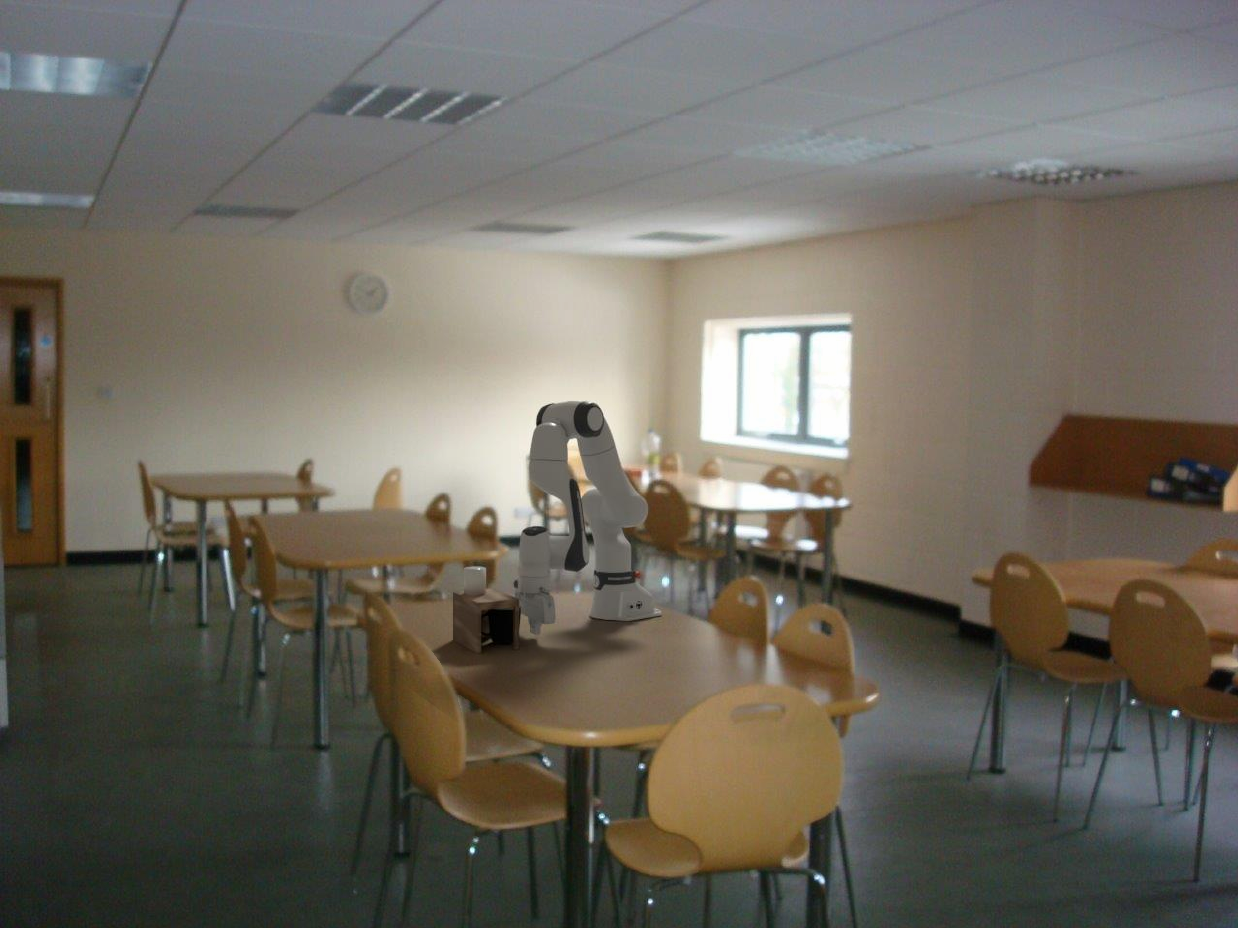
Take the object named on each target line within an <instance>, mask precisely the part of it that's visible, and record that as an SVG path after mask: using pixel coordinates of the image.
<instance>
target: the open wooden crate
mask: <svg viewBox="0 0 1238 928" xmlns="http://www.w3.org/2000/svg"><path fill="white" fill-rule="evenodd" d="M510 607H513V644H512V648H513V649H514V650H517V649H518V650H519V649H520V628H519V599H517V598H515V597H514V596H512V595H510V594H507V593H505V592H502V591H501V590H498V589H496V588H486V594H484V595H465V594H464V590H459V591H458V590H457V591H456V590H455V591H453V592H452V640H453V641H454V642H455V643H458V644H460V645H462V646H463V647H465V648H467V649H469V650H470V651H473V652H474V653H476V654H481V653H482V638H488V636H485V635H483V634H481V630H482V631H483V632H484V633H490V629H489V619H488V616H485V617H483V618H482V620H481V616H482V615H483V614H485V613H487V612H488V609H499V608H510Z"/></svg>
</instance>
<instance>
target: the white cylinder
mask: <svg viewBox="0 0 1238 928" xmlns="http://www.w3.org/2000/svg"><path fill="white" fill-rule="evenodd" d="M486 589H487V567H484V566H466V567H464V568H463V591H464V594H465V595H484V594H486Z"/></svg>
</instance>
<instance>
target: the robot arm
mask: <svg viewBox="0 0 1238 928" xmlns="http://www.w3.org/2000/svg"><path fill="white" fill-rule="evenodd" d="M608 423H609V422H608V421H607V419H606V418H605V416H604V413H603V410H602V408H601V407H600V406H599V405H598V404H597V403H595V402H593V401H588V400H582V401H579V400H568V401H564V402H563V401H561V402H557V403H555V402H553V403H548V404H545V405H543V406H542V407H541V408H540V409H539V410H538V412H537V415H536V418H535V426H536V427H535V428H534V430H533V432H532V433H533V434H532V437H531V443H530V448H529V449H530V450H529V464H528V470H529V471H528V472H529V473H528V474H529V478H530V480H531V482H532V483H533V485H534V486H535V487H536V488H537V489H539V490H540V491H541V492H543V493H546V494H548V495H550V496H553V497H555V498H556V499H559V500H560V501H561V502H562V503H563V505H564V506H565V509H566V517H567V524H568V530H569V532H568V533H569V535H552V534H550V533H549V529H548V527H545V526H541V525H532V526H527V527H526V528H524V529H522V531H521V534H520V537H519V538H520V540H519V549H518V560H519V564H520V568H519V571H518V572H519V573H518V576H519V577H518V578H515V579H513V582H512V587H513V588H514V592H513V594H514V596H513V597H515V598H517V599H519V605H520V606H521V615H523V616H525V617H527V621H528V625H529V632H530V634H533V635H535V636H539V635H540V634H541V628H542V624H543V625H550V624H551V625H552V624H554V623H555V622H556V602H555V599H554V597H553V595H552V594H551V591H552V582H551V581H552V574H551V573H552V572H551V570H557V571H559V570H562V571H563V570H564V571H566V572H567V571H568V572H576V573H578V572H580V571H581V570H582V569H583V570H584V568H585V567H586V566H587V565H588V564H589V562H590V555H591V554H590V548H589V542H588V537H587V535H586V534H587V532H586V524H585V520H586V521H587V523H588V525H589V528H590V530H591V535H592V539H593V543H594V544H593V545H594V570H593V581H592V582H593V596H592V597H593V598H592V603H591V608H590V612H589V614H588V615H589V617H591V618H593V619H599V620H605V621H606V620H607V621H609V620H610V621H621V622H630V621H635V620H636V621H637V620H642V619H647V618H654V617H660V616H662V611H661V610H660V609H658V608H656V607H655V601H654V597H653V595H652V592H651V593H650V592H649V591H648V590H647V589H646V588H644V587H643V586H642V585H641V584H639V582H637V581H636V580H637V579H639V580H640V579H642V578H643V574H642V572H641V571H640V572H639V571H634V570H633V569H632V545H631V543H630V542H629V540H628V539H627V538H626V536H625V534H624V532H623V529H622V528H624V529H625V528H633V527H639V526H641V525H642V524H643V523H645V521H646V519H648V518H647V517H648V514H649V505H648V502H647V500H646V498H644V496H642V495H641V494H640V493H639V492H638V491H637V490H636V489H635V487H634V486H633V484H632V483H631V481H630V479H629V478H628V476H627V475H626V473H625V471H624V469H623V467H622V463H621V460H620V457H619V453H618V450H617V445H616V441H615V439H614V436H613V433H612V430H611V428H610V426H609V424H608ZM573 439H576V443H577V446H578V451H579V455H580V458H581V462H582V466H583V469H584V474H585V476H586V479H587V480H588V481H589V482H590V483H591V484H592V485H594V487H595V488H593V489H590V490H587V491H585V492H584V493H583V495H582V496H581V490H580V487H579V484H578V482H577V480H575V479H574V478H572V476H571V473H570V471H569V465H568V462H569V461H568V460H569V459H568V458H569V451H568V450H569V449H568V444H569V441H570V440H573Z"/></svg>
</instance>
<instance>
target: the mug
mask: <svg viewBox="0 0 1238 928" xmlns="http://www.w3.org/2000/svg"><path fill="white" fill-rule="evenodd" d="M521 615H522V614H521V606H520V605H519V629H520V627H521V626H520V625H521ZM485 616H488V619H489V629H490V633H484V632H483V631H482V630H481V634H483V635H485V636H488V637H489V638H490V639H491V641H492V643H493V644H495V645H499V646H508V645H509V646H511V645H513V607H510V608H499V609H488V612H487V613H485V614H483V615H482V616H481V620H482V618H483V617H485ZM488 637H487V638H488Z"/></svg>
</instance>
